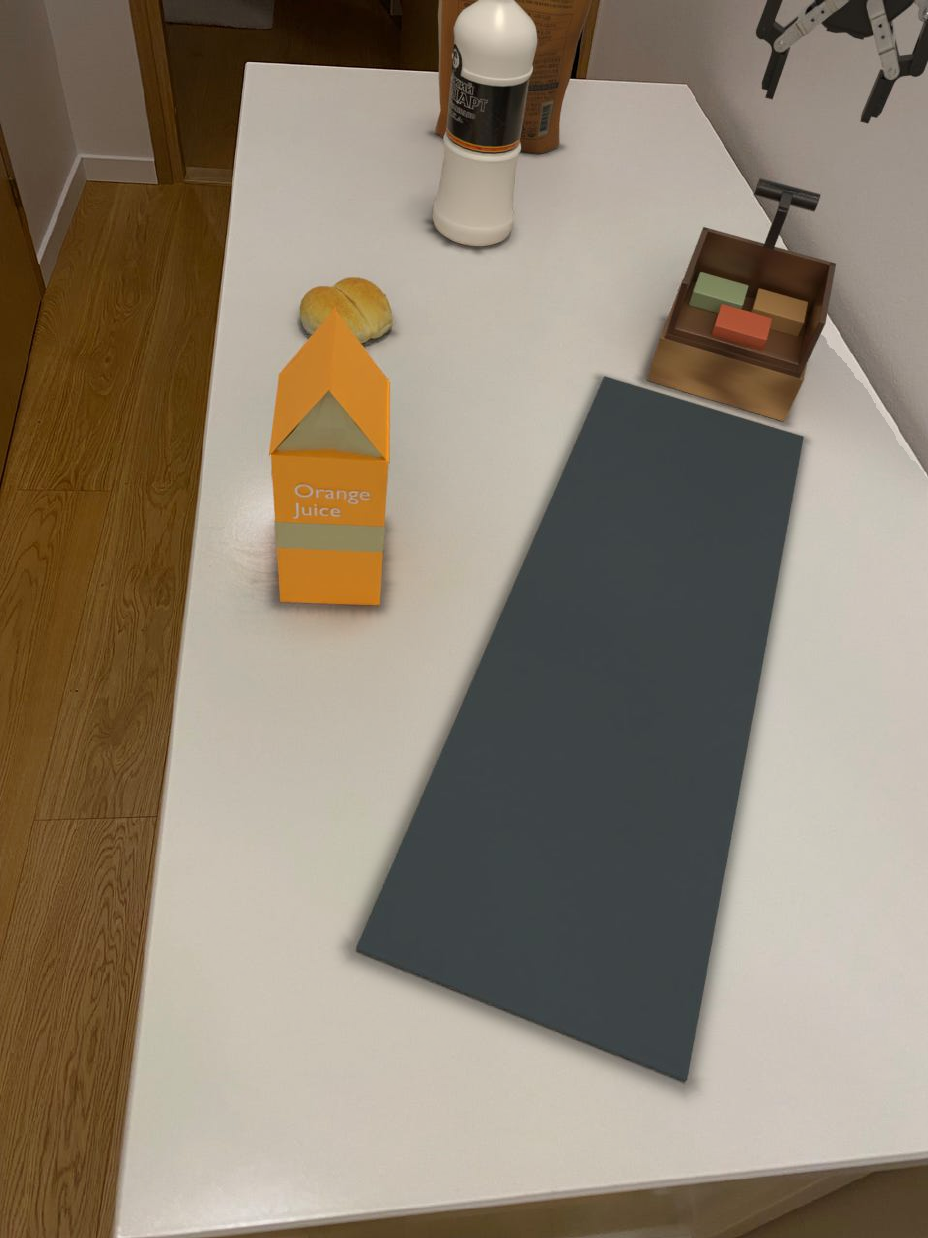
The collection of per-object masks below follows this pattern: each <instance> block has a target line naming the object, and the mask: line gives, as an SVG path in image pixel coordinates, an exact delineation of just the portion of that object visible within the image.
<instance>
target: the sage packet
mask: <svg viewBox="0 0 928 1238" xmlns="http://www.w3.org/2000/svg"><path fill="white" fill-rule="evenodd" d="M748 287H749V286H748V285H745V284H742V283H738V282H735V281H731V280H728V279H724V278H720V277H717V276H713V275H710V274H706V273H703V272H700V273H699V276H698V279H697V282H696V284H695V287H694V290H693V293H692V296H691V299H690V302H689V305H690V306H693V307H697V308H700V309H704V310H707V311H711V312H714V313H719V310H720V307H721V304H724V305H727V306H731V307H734V308H738V309H742V307H743V304H744V300H745V297H746V294H747V290H748Z"/></svg>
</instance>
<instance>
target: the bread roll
mask: <svg viewBox="0 0 928 1238" xmlns="http://www.w3.org/2000/svg"><path fill="white" fill-rule="evenodd" d="M335 307H336V311H337V312H338V314H339V315H340V316H341V318H342V319H343V320H344V322H345V323H346V324H347V326H348V327H349V328H350V330H351V331H352V332H353V334H354V335H355V336H356V338H357V339H358V340H359V342H360V343H361V344H364V343H367V342H368V341H369V340H370V339H378V338H380V337H382V336H384V334H386V333H387V332H388V331H389V330H390V329H391V327H392V326H393V324H394V317H393V312H392V309H391V304H390V302H389V299H388V298H387V295H386V293H384V291H382V290H381V288H380V286H378V285H377V284H375V283H374V282H373V281H371V280H368V279H366V278H363V277H356V276H352V277H351V276H350V277H344V278H342V279H340V280H339V281H338V282H336V283H334V285H333V286H328V285H320V286H316V287H315V286H314V287H312V288H311V289H310V290H308V291H307V292H306V293H305V294H304V296H303V297H302V298H301V300H300V305H299V317H300V321H301V325H302V327H303V328H304V330H305V331H306V332H307V333H308V334H310V336H312V334H313V333H314V332H315V331H316V330H317V328H318V327H319V326H320V325H321V324H322V323H323V321H324V320H325V319H326V318H327V317H328V315H329V314H330V313H331V312H332V311H333V309H334V308H335Z"/></svg>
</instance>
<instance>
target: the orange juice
mask: <svg viewBox="0 0 928 1238" xmlns="http://www.w3.org/2000/svg"><path fill="white" fill-rule="evenodd" d="M276 386H277V387H276V396H275V403H274V411H273V419H272V427H271V433H270V434H271V435H270V443H269V449H268V450H269V451H268V457H270V465H271V471H270V475H271V482H272V495H273V509H274V510H273V511H274V536H275V549H276V556H277V557H276V558H277V559H276V560H277V573H278V574H277V575H278V586H279V587H278V589H279V602H280V603H299V604H325V605H352V606H353V605H354V606H355V605H358V606H359V605H360V606H380V605H381V589H382V588H381V587H382V574H383V573H382V572H383V558H384V557H383V555H384V549H385V532H386V509H387V493H388V492H387V491H389V490H388V487H389V480H388V478H389V465H390V462H391V461H390V458H391V457H390V455H391V454H390V452H391V449H390V447H391V446H390V442H391V440H390V439H391V436H390V435H391V382H390V378H387V376H386V375H385V373H384V372H383V371H382V369H381V368H380V367H379V366H378V364H377V363H376V361H375V359H373V358H372V356H371V354H370V353H369V352H368V351H367V349H366V348H365V347H364V346H363V343H360V342H359V340H358V339H357V338H356V336H355V335H354V334H353V332H352V331H351V330H350V328H349V327H348V326H347V324H346V323H345V322H344V320H343V319H342V318H341V316H340V315H339V314H338V312H337V311H336V307H335V308H334V309H333V311H332V312H331V313H330V314H329V315H328V317H327V318H326V319H325V320H324V321H323V323H322V324H321V325H320V326H319V327H318V328H317V330H316V331H315V332H314V333H313V334H312V335H310V337H309V338H308V339H307V340H306V341H305V343H304V344H303V345H302V346H301V347H300V348H299V350H298V351H297V352H296V353H295V354H294V356H292V358H291V359H290V360H289V362H288V363H287V364H286V365H285V366H284V368H282V370H281V371H280V372H279V373H278V379H277V385H276Z"/></svg>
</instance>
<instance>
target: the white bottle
mask: <svg viewBox="0 0 928 1238" xmlns="http://www.w3.org/2000/svg"><path fill="white" fill-rule="evenodd" d="M536 47H537V33H536V27H535V25H534V22H533V21H532V19H531V18H530V17H529V16H528V15H527V13H526V12H525V11H524V10H523V9H522V8H521V7H520V6H519V5H518V4H517V3H516V2H515V1H514V0H478V1H477V2H475V3H474V4H472V5H470V6H469V7H467V8H466V9H464V10H463V11H462V12H461V14H460V15H459V16H458V18H457V20H456V23H455V26H454V51H453V54H452V59H453V61H452V72H451V83H450V94H449V104H448V115H447V126H446V132H445V134H444V137H442V138H443V139H442V140H443V144H444V145H443V160H442V166H441V172H440V179H439V183H438V190H437V194H436V197H435V200H434V201H433V208H432V221H433V224H434V227H435V228H436V230H437V232H439V234H441V235H443V236H444V237H445V238H447V239H448V240H450V241H452V242H454V243H457V244H459V245H464V246H468V247H488V246H493V245H496V244H499V243H500V242H503V241H504V240H506V239H507V238H508V237H509V235H510V234H511V232H512V230H513V227H514V223H515V222H514V221H515V209H514V198H515V197H514V196H515V183H516V172H517V165H518V159H519V155H520V154H521V152H520V151H521V144H520V138H521V131H522V125H523V118H524V112H525V105H526V99H527V92H528V86H529V79H530V76H531V74H532V71H533V65H532V63H533V59H534V55H535V51H536Z"/></svg>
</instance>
